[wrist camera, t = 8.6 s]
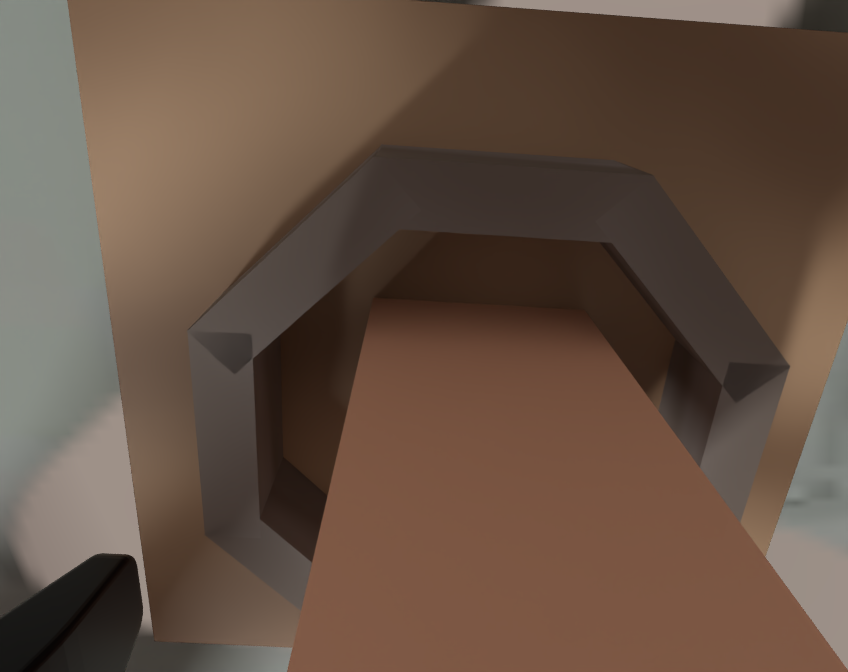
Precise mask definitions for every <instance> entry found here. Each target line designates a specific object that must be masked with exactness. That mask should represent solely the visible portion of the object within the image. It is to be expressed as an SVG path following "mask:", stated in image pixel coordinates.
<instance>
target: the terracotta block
mask: <svg viewBox="0 0 848 672" xmlns="http://www.w3.org/2000/svg"><path fill="white" fill-rule="evenodd" d="M287 672H848V670H847V668H846V667H845V666H844V664H843V663H842V662H841V660H840V659H839V657H838V656H837V655H836V654H835V652H834V651H833V649H832V648H831V647H830V645H829V644H828V642H827V641H826V640H825V638H824V637H823V636H822V634H821V633H820V632H819V630H818V629H817V627H816V626H815V625H814V623H813V622H812V620H811V619H810V618H809V616H808V615H807V614H806V612H805V611H804V610H803V608H802V607H801V605H800V604H799V603H798V601H797V600H796V599H795V597H794V596H793V595H792V593H791V592H790V590H789V589H788V588H787V586H786V585H785V584H784V583H783V581H782V580H781V578H780V577H779V575H778V574H777V573H776V572H775V570H774V569H773V567H772V566H771V564H770V563H769V562H768V560H767V559H766V558H765V556H764V555H763V553H762V552H761V551H760V549H759V548H758V547H757V545H756V544H755V543H754V541H753V540H752V538H751V537H750V536H749V534H748V533H747V532H746V530H745V529H744V527H743V526H742V525H741V523H740V522H739V521H738V519H737V518H736V517H735V515H734V514H733V512H732V511H731V510H730V508H729V507H728V506H727V504H726V503H725V501H724V500H723V499H722V497H721V496H720V495H719V493H718V492H717V491H716V489H715V488H714V486H713V485H712V484H711V482H710V481H709V480H708V478H707V477H706V476H705V474H704V473H703V471H702V470H701V469H700V467H699V466H698V465H697V463H696V462H695V460H694V459H693V458H692V456H691V455H690V454H689V452H688V451H687V450H686V448H685V447H684V445H683V444H682V443H681V441H680V440H679V439H678V437H677V436H676V434H675V433H674V432H673V430H672V429H671V428H670V426H669V425H668V424H667V422H666V421H665V419H664V418H663V417H662V415H661V414H660V413H659V411H658V410H657V408H656V407H655V406H654V404H653V403H652V402H651V400H650V399H649V398H648V396H647V395H646V393H645V392H644V391H643V389H642V388H641V387H640V385H639V384H638V382H637V381H636V380H635V378H634V377H633V376H632V374H631V373H630V372H629V370H628V369H627V367H626V366H625V365H624V363H623V362H622V361H621V359H620V358H619V356H618V355H617V354H616V352H615V351H614V350H613V348H612V347H611V346H610V344H609V343H608V341H607V340H606V339H605V337H604V336H603V335H602V333H601V332H600V331H599V329H598V328H597V326H596V325H595V324H594V322H593V321H592V320H591V318H590V317H589V315H588V314H587V313H586V311H585V310H573V309H556V308H539V307H522V306H505V305H488V304H471V303H455V302H438V301H421V300H404V299H387V298H373V301H372V305H371V309H370V314H369V318H368V322H367V327H366V331H365V335H364V340H363V344H362V348H361V353H360V357H359V361H358V366H357V370H356V375H355V379H354V383H353V388H352V392H351V396H350V401H349V405H348V409H347V414H346V418H345V422H344V427H343V431H342V435H341V440H340V444H339V448H338V453H337V457H336V461H335V466H334V470H333V475H332V479H331V483H330V488H329V492H328V496H327V501H326V505H325V509H324V514H323V518H322V522H321V527H320V531H319V535H318V540H317V544H316V548H315V553H314V557H313V561H312V566H311V570H310V575H309V579H308V583H307V588H306V592H305V596H304V601H303V605H302V609H301V614H300V618H299V622H298V627H297V631H296V635H295V640H294V644H293V648H292V653H291V657H290V661H289V666H288V670H287Z"/></svg>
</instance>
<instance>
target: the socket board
mask: <svg viewBox="0 0 848 672" xmlns="http://www.w3.org/2000/svg"><path fill="white" fill-rule="evenodd" d="M67 1H68V9H69V16H70V23H71V31H72V38H73V45H74V53H75V60H76V68H77V75H78V82H79V90H80V97H81V104H82V112H83V119H84V126H85V134H86V141H87V149H88V156H89V163H90V171H91V178H92V185H93V193H94V200H95V207H96V215H97V222H98V230H99V237H100V244H101V252H102V259H103V266H104V274H105V281H106V288H107V296H108V303H109V311H110V318H111V325H112V333H113V340H114V347H115V355H116V362H117V369H118V377H119V384H120V392H121V399H122V406H123V414H124V421H125V428H126V436H127V443H128V450H129V458H130V465H131V473H132V480H133V487H134V495H135V502H136V509H137V517H138V524H139V531H140V539H141V546H142V553H143V561H144V568H145V575H146V582H147V590H148V597H149V604H150V612H151V620H152V627H153V635H154V641H159V642H181V643H204V644H226V645H249V646H271V647H293V644H294V640H295V635H296V631H297V627H298V622H299V618H300V614H301V609H302V605H303V601H304V596H305V592H306V588H307V583H308V579H309V575H310V570H311V566H312V561H313V557H314V553H315V548H316V544H317V540H318V535H319V531H320V527H321V522H322V518H323V514H324V509H325V505H326V501H327V496H328V492H329V488H330V483H331V479H332V475H333V470H334V466H335V461H336V457H337V453H338V448H339V444H340V440H341V435H342V431H343V427H344V422H345V418H346V414H347V409H348V405H349V401H350V396H351V392H352V388H353V383H354V379H355V375H356V370H357V366H358V361H359V357H360V353H361V348H362V344H363V340H364V335H365V331H366V327H367V322H368V318H369V314H370V309H371V305H372V301H373V298H387V299H404V300H421V301H438V302H455V303H471V304H488V305H505V306H522V307H539V308H556V309H573V310H585V311H586V313H587V314H588V315H589V317H590V318H591V320H592V321H593V322H594V324H595V325H596V326H597V328H598V329H599V331H600V332H601V333H602V335H603V336H604V337H605V339H606V340H607V341H608V343H609V344H610V346H611V347H612V348H613V350H614V351H615V352H616V354H617V355H618V356H619V358H620V359H621V361H622V362H623V363H624V365H625V366H626V367H627V369H628V370H629V372H630V373H631V374H632V376H633V377H634V378H635V380H636V381H637V382H638V384H639V385H640V387H641V388H642V389H643V391H644V392H645V393H646V395H647V396H648V398H649V399H650V400H651V402H652V403H653V404H654V406H655V407H656V408H657V410H658V411H659V413H660V414H661V415H662V417H663V418H664V419H665V421H666V422H667V424H668V425H669V426H670V428H671V429H672V430H673V432H674V433H675V434H676V436H677V437H678V439H679V440H680V441H681V443H682V444H683V445H684V447H685V448H686V450H687V451H688V452H689V454H690V455H691V456H692V458H693V459H694V460H695V462H696V463H697V465H698V466H699V467H700V469H701V470H702V471H703V473H704V474H705V476H706V477H707V478H708V480H709V481H710V482H711V484H712V485H713V486H714V488H715V489H716V491H717V492H718V493H719V495H720V496H721V497H722V499H723V500H724V501H725V503H726V504H727V506H728V507H729V508H730V510H731V511H732V512H733V514H734V515H735V517H736V518H737V519H738V521H739V522H740V523H741V525H742V526H743V527H744V529H745V530H746V532H747V533H748V534H749V536H750V537H751V538H752V540H753V541H754V543H755V544H756V545H757V547H758V548H759V549H760V551H761V552H762V553H763V555H764V556H766V553H767V550H768V548H769V545H770V542H771V539H772V536H773V533H774V530H775V527H776V525H777V522H778V519H779V516H780V513H781V510H782V507H783V504H784V502H785V499H786V496H787V493H788V490H789V487H790V484H791V481H792V479H793V476H794V473H795V470H796V467H797V464H798V461H799V458H800V456H801V453H802V450H803V447H804V444H805V441H806V438H807V436H808V433H809V430H810V427H811V424H812V421H813V418H814V415H815V413H816V410H817V407H818V404H819V401H820V398H821V395H822V392H823V390H824V387H825V384H826V381H827V378H828V375H829V372H830V369H831V367H832V364H833V361H834V358H835V355H836V352H837V349H838V346H839V344H840V341H841V338H842V335H843V332H844V329H845V326H846V324H847V321H848V33H844V32H831V31H818V30H804V29H791V28H777V27H764V26H751V25H736V24H724V23H710V22H697V21H684V20H669V19H656V18H643V17H630V16H616V15H603V14H590V13H575V12H563V11H550V10H536V9H523V8H509V7H496V6H483V5H469V4H456V3H442V2H429V1H416V0H67Z"/></svg>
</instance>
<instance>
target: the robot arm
mask: <svg viewBox="0 0 848 672" xmlns="http://www.w3.org/2000/svg"><path fill="white" fill-rule="evenodd" d="M142 616H143V605H142V597H141V590H140V583H139V576H138V569H137V564H136V561H135V559H134V558H133V557H132V556H130V555H126V554H104V553H102V554H97V555H94V556H92V557H91V558H89V559H87V560H86V561H84V562H83V563H81V564H80V565H78V566H77V567H75V568H74V569H72V570H71V571H70V572H68V573H66V574H65V575H63V576H62V577H60V578H59V579H57V580H56V581H55V582H53V583H51V584H50V585H48V586H47V587H45V588H44V589H42V590H41V591H39V592H38V593H36V594H35V595H33V596H32V597H30V598H29V599H27V600H26V601H24V602H23V603H21V604H20V605H18V606H17V607H15V608H14V609H12V610H11V611H9V612H8V613H6V614H5V615H3V616H2V617H0V672H125V669H126V666H127V663H128V661H129V658H130V655H131V652H132V649H133V647H134V644H135V641H136V638H137V635H138V633H139V630H140V626H141V622H142Z"/></svg>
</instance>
